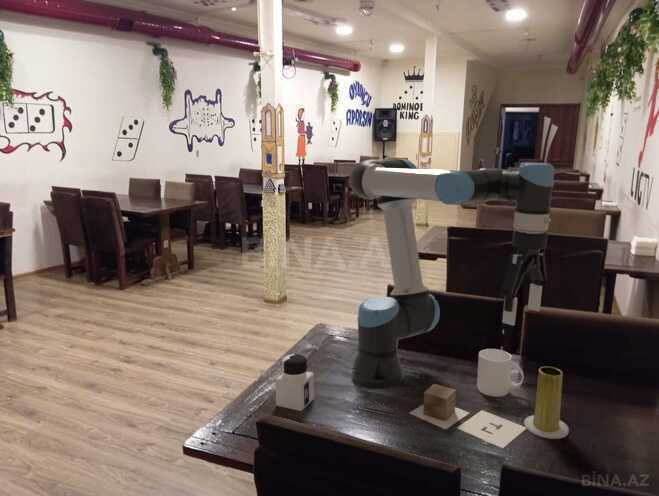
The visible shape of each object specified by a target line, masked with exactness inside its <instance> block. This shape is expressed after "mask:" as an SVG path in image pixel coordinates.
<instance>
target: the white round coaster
mask: <svg viewBox="0 0 659 496" xmlns="http://www.w3.org/2000/svg"><path fill="white" fill-rule="evenodd" d="M533 419H534V414H532V415H528V416H527V417H526V418H525V419H524V423H523V424H524V427H526V428H527V429H526V431H529V432H530V433H531V434H533V435H535V436H537V437H540V438H544V439H549V440H560V439H562V438H563V439H564V438H566V437H567V436H568V435H569V433H570V432H569V431H570V428H569V426H568V425H567V424H566V423H565V422H564V421H562V420H560V421H559V426H560V429H559V430H557V431H555V432H546V431H542V430H540V429H538V428H536V427H535V426H534V425H533Z"/></svg>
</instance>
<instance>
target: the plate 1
mask: <svg viewBox="0 0 659 496" xmlns="http://www.w3.org/2000/svg"><path fill="white" fill-rule="evenodd" d="M423 412H424V403H423V404H422V405H420V406H417V408H415V409H413V410H412V411H410V412H409V414H410V415H412V416H414V417H417V418H418V419H421V420H423V421H426V422H428V423H431V424H433V425H435V426H437V427H438V428H442V429H443V430H448V429H449V428H450V427H451V426H453V425H454V424H456V423H457V422H459V421H460V420H462V419H463V418H464V417H466V416H467V415H469V414H470V412H468V411H466V410H463V409H461V408H459V407H456V406H455V412H454V413H453V414H452V415H451V416H450V417H449V418H448V419H447V420H446V421H443V420H439V419H436V418H433V417H430V416H427V415H424V414H423Z"/></svg>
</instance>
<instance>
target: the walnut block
mask: <svg viewBox="0 0 659 496" xmlns="http://www.w3.org/2000/svg"><path fill="white" fill-rule="evenodd" d="M456 394H457V389H454V388H450V387H447V386H443V385H440V384H437V383H433V384H432V385H431V386H429V388H427V390H425V391H424V392H423V404H424V412H423V414H424V415H427V416H430V417H433V418H436V419H439V420H443V421H446V420H447V419H448V418H449V417H450V416H451V415H452V414H453V413H454V412H455V407H456V398H457V396H456Z"/></svg>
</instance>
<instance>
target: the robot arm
mask: <svg viewBox="0 0 659 496" xmlns="http://www.w3.org/2000/svg"><path fill="white" fill-rule="evenodd" d="M554 174H555V167H554V166H553V165H552V164H551V163H546V162H522V163H520V165H519V168H518V170H517V169H516V170H514V169H513V170H512V169H504V168H497V167H483V168H479V169H475V170H453V169H451V170H446V169H424V168H423V169H419V168H417V166H416V165H415V164H414V163H413V162H412V161H411V160H409V159H406V158H383V159H379V158H378V159H366V160H362V161H360V162H358V163H356V165H355V166H353V168H352V170H351V171H350V175H349V185H350V189H351V190H352V192H353V193H354V194H355V195H356V196H358V197H359V198H361V199H364V200H365V199H366V200H376V204H377V207H378V208H380V209H381V210H382V211H383V217H384V224H385V225H384V226H385V231H386V237H387V238H386V239H387V244H388V246H387V247H388V251H389V252H388V253H389V260H390V265H391V271H392V279H393V285H394V288H393V289H392V291H391V292H390V296H376V297H372V298H369V299H366V300H364V301H363V302H362V303H360V304H359V307H358V310H357V311H358V312H357V313H358V315H357V329H358V330H357V338H358V339H357V354H356V357H355V359H354V364H353V365H352V369H351V378H352V380H353V381H354V382H355V383H356V384H358V385H360V386H362V387H365V388H368V389H369V388H370V389H386V388H387V389H388V388H392V387H395V386H397V385H399V384H401V383H402V382H403V380H404V369H403V367H402V365H401V364H402V363H401V361H400V357H399V353H398V352H399V351H398V350H399V347H398V345H399V341H400V340H404V339H407V338H410V337H414V336H418V335H423V334H426V333H427V332H430V331H431V330H433V329H434V328H435V327H436V325H438V323H439V320H440V317H441V315H440V314H441V309H440V305H439V302H438V301H437V300H436V297H435V296H434V295H432V294H431V293H430V292H429V288H428V287H427V286H426V285H425V284H424V283H423V278H422V271H421V265H420V255H419V249H418V244H417V243H418V242H417V236H416V230H415V223H414V215H413V210H412V206H413V204H414V202H415V201H416V199H417V200H427V201H435V202H437V201H438V202H442V203H443V204H444V205H447V206H448V205H451V206H452V205H453V206H459V205H463V204H471V203H482V202H491V201H493V202H494V201H502V202H509V203H515V208H514V209H515V210H514V217H513V218H514V219H513V228H514V230H513V232H512V240H511V244H512V246H513V247H514V248H515V247H516V249H517V253H516V254H514V253H511V254H510V255H509V262H508V266H507V269H506V271H505V276H504V279H503V282H502V285H501V288H500V292H499V295H500V297H504V299H503V300H504V301H503V311H502V321H501V322H502V324H506V325H510V326H512V327H513V326H515V324H516V316H517V306H518V298H517V294H518V292H519V290H520V287H521V285H522V282H523V281H524V277H525V276H526V275H528V274H529V276H530V279H531V282H532V283H530V285H529V293H528V294H529V295H528V303H527V304H528V305H527V310H531V311H535V312H540V310H541V302H542V300H541V299H542V294H543V292H542V291H543V286H547V284H548V271H547V263H546V248H547V243H548V234H549V233H548V232H547V231H548V229H549V223H551V222H552V219H551V217H550V213H551V204H552V197H553V188H554V186H555V182H554V180H555V179H554V178H555V175H554Z"/></svg>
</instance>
